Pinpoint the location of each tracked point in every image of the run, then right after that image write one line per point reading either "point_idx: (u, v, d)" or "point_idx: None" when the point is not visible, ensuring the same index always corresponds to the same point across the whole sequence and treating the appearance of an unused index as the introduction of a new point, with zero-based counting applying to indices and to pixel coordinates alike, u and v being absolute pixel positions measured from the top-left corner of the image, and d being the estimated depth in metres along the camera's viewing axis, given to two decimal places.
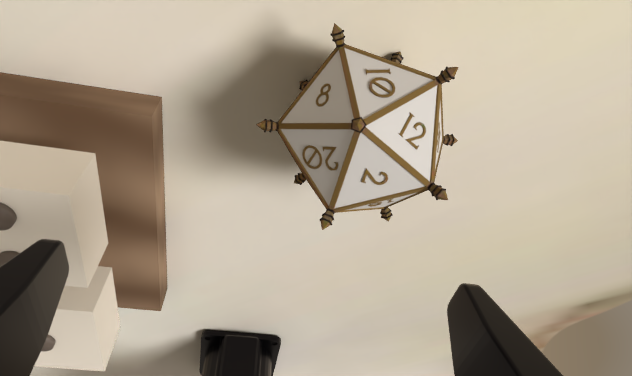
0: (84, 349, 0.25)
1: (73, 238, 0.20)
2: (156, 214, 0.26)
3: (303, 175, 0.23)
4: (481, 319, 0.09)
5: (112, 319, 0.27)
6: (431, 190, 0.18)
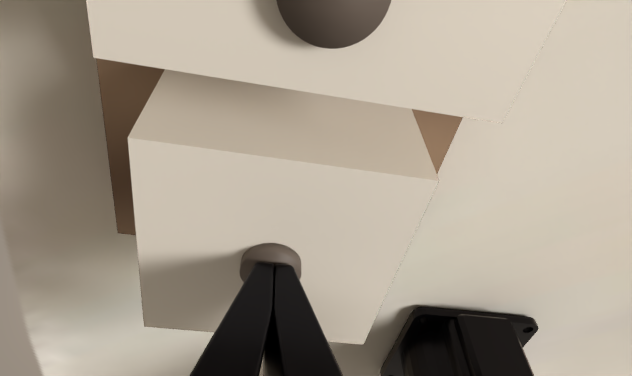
0: (352, 291, 0.11)
1: None
2: None
3: None
4: (274, 299, 0.09)
5: None
6: None
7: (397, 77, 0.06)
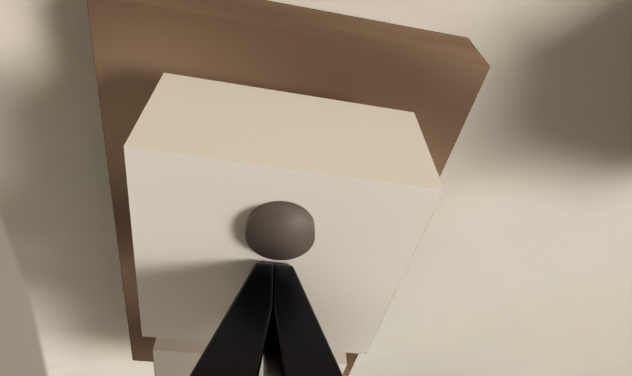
0: None
1: (397, 272, 0.10)
2: None
3: None
4: (273, 299, 0.09)
5: None
6: None
7: None
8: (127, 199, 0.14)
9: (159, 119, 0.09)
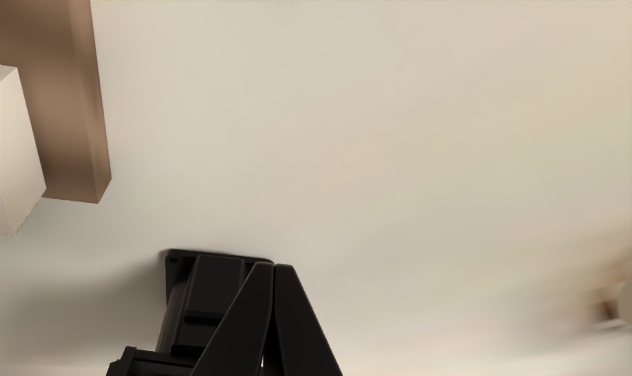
0: None
1: None
2: (69, 9, 0.16)
3: None
4: (273, 299, 0.09)
5: (26, 160, 0.18)
6: None
7: None
8: None
9: None
